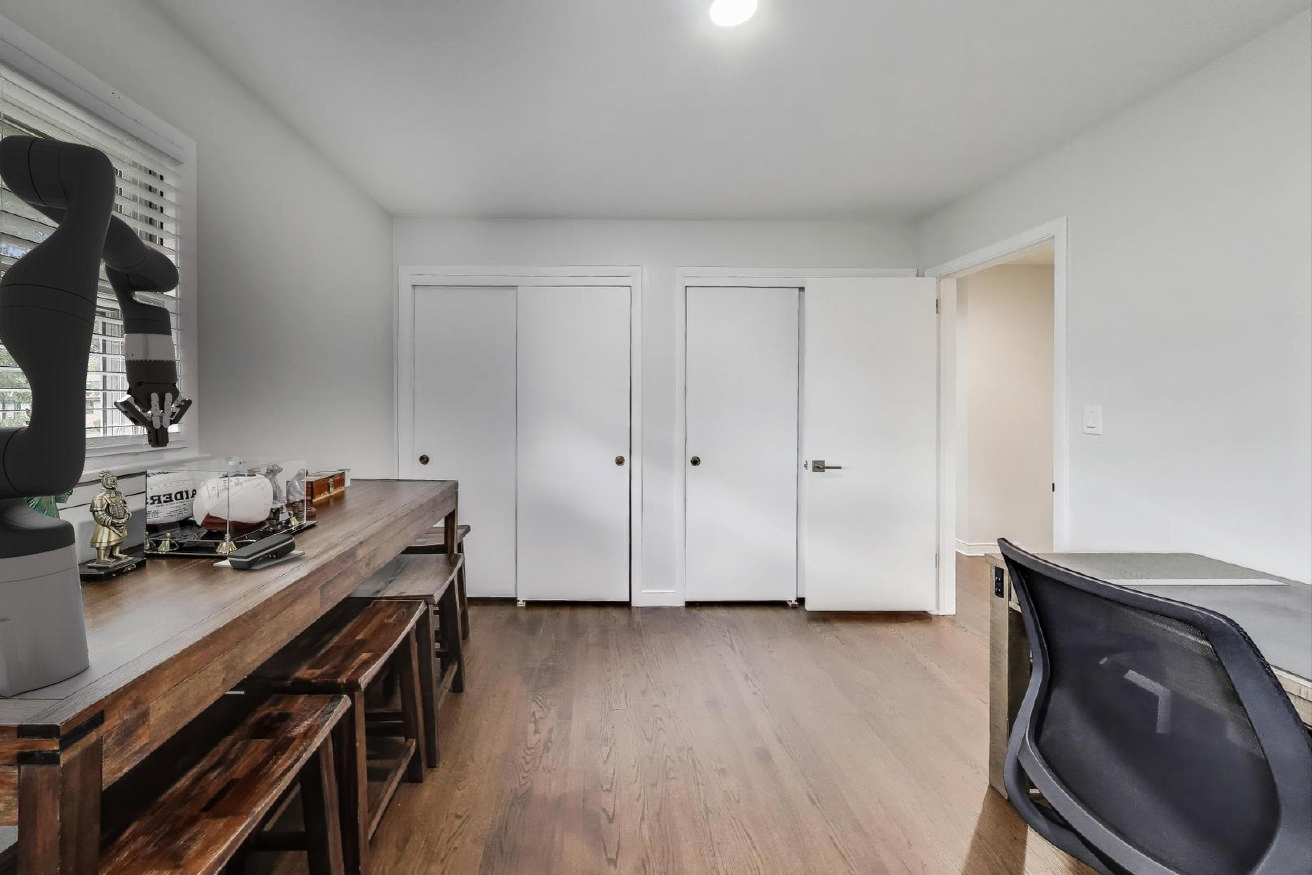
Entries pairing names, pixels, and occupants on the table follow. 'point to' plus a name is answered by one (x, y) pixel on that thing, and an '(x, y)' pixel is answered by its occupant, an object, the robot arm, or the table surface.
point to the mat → (263, 561)
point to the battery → (262, 551)
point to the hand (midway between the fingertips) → (159, 447)
